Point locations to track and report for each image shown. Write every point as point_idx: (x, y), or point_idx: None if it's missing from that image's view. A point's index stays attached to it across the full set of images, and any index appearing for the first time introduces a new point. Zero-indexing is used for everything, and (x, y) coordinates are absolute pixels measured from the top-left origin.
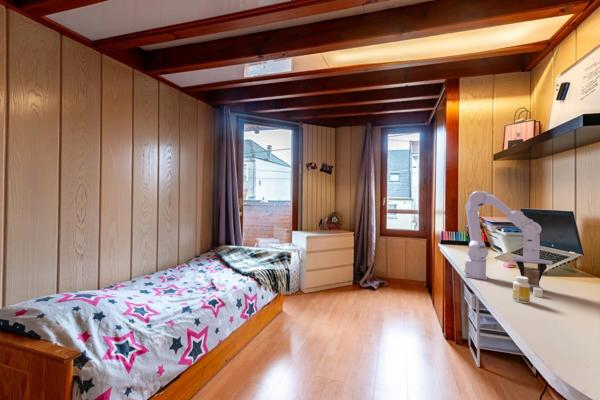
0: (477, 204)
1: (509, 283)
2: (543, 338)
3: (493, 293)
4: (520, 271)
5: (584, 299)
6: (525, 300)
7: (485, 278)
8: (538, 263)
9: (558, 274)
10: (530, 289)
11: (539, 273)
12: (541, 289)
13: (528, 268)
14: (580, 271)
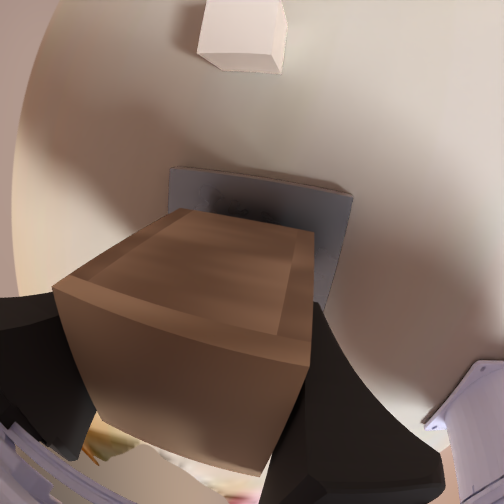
0: None
1: (364, 345)
2: None
3: None
4: (350, 367)
5: (32, 146)
6: None
7: (479, 371)
8: (19, 438)
9: (114, 446)
10: (269, 180)
11: (83, 267)
12: (210, 13)
13: (199, 422)
14: (84, 447)
